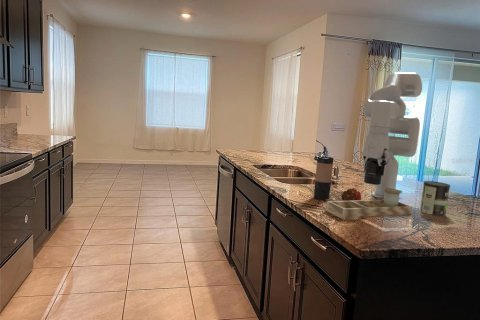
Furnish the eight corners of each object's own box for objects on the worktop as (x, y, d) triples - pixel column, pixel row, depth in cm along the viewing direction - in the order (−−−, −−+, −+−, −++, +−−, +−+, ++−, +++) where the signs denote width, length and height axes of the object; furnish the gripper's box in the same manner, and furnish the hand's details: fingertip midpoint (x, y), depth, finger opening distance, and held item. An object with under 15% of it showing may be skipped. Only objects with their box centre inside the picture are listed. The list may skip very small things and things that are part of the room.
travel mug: (329, 201, 171) (334, 159, 169) (313, 199, 173) (317, 157, 170) (329, 197, 179) (333, 157, 176) (313, 195, 180) (317, 155, 177)
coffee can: (446, 214, 161) (450, 183, 159) (444, 219, 153) (449, 187, 150) (420, 209, 167) (424, 179, 165) (417, 214, 158) (422, 183, 156)
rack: (389, 208, 166) (390, 199, 165) (411, 216, 154) (413, 207, 153) (325, 210, 154) (326, 200, 154) (344, 220, 142) (345, 209, 142)
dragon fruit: (349, 211, 161) (347, 208, 173) (366, 202, 159) (364, 200, 171) (338, 194, 162) (338, 193, 174) (356, 185, 161) (354, 184, 172)
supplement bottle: (367, 184, 148) (371, 155, 147) (361, 181, 155) (364, 153, 153) (384, 185, 149) (387, 156, 147) (376, 182, 156) (379, 154, 154)
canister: (390, 207, 162) (392, 188, 160) (401, 211, 156) (403, 191, 154) (378, 208, 159) (381, 188, 158) (389, 212, 154) (391, 191, 152)
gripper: (357, 129, 156) (353, 169, 158) (386, 132, 140) (380, 177, 142) (372, 129, 158) (367, 170, 161) (401, 133, 142) (395, 177, 145)
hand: (373, 173), depth 151 cm, fingers closed on supplement bottle, 6 cm apart
